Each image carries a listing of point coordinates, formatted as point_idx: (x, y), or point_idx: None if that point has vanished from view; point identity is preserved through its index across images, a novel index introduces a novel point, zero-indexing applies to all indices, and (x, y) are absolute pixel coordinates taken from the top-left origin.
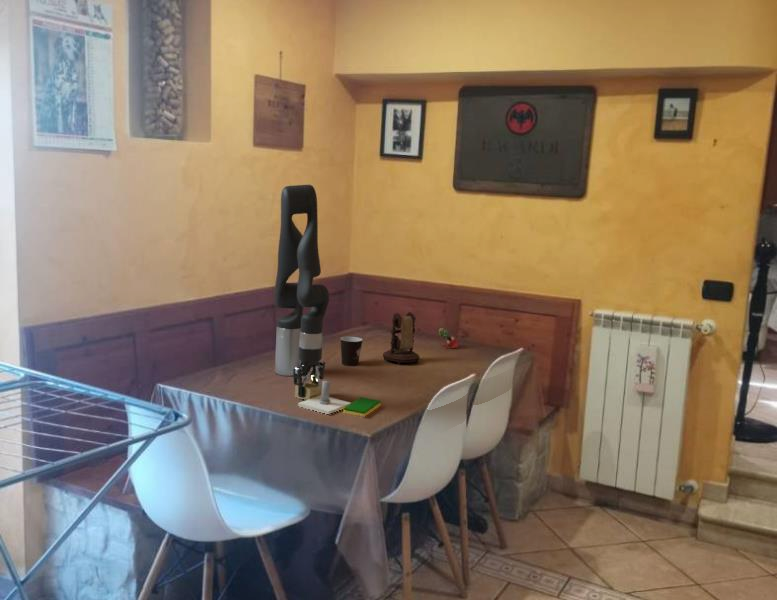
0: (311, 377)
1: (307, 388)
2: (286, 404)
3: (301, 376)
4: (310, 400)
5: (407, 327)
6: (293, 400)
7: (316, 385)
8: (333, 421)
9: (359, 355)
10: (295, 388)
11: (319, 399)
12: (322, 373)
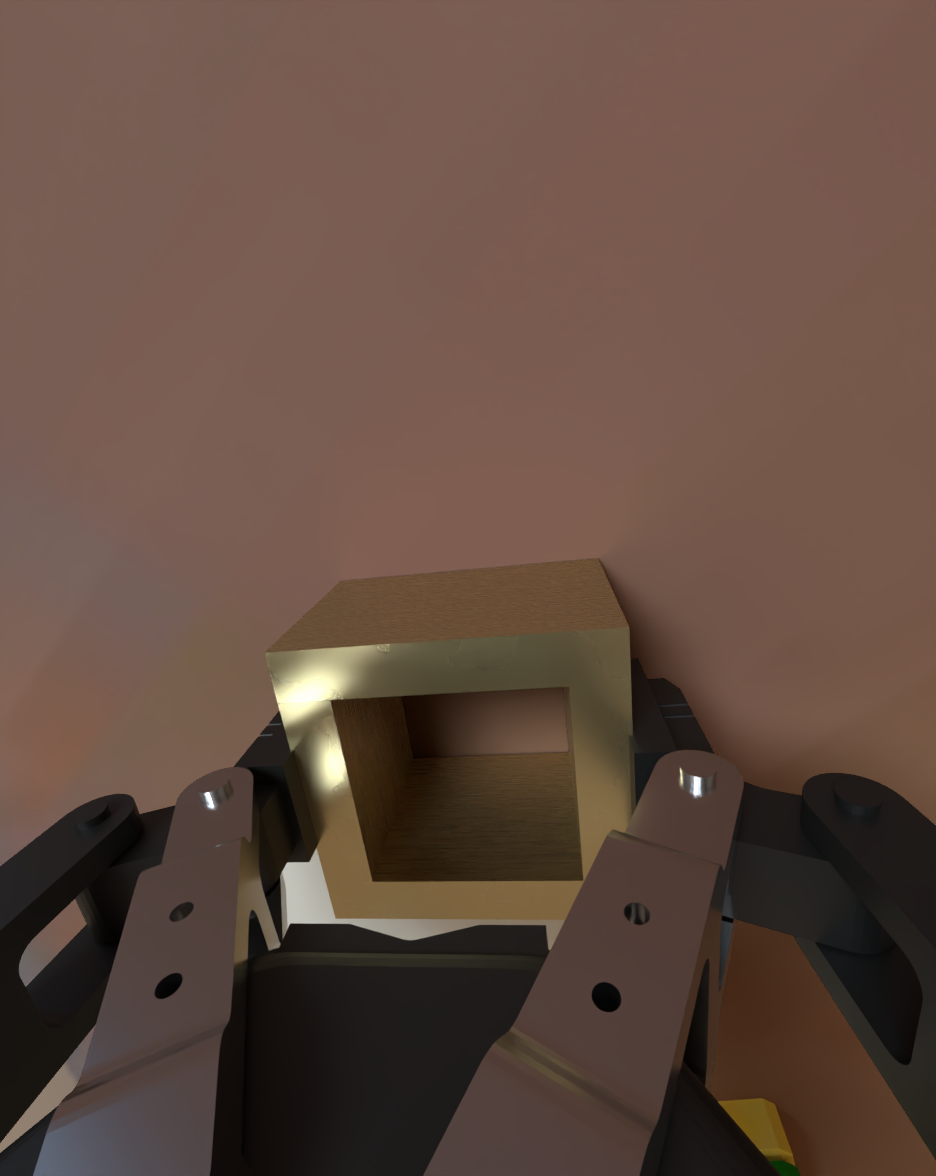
0: (632, 819)
1: (330, 874)
2: (104, 705)
3: (12, 1116)
4: (313, 880)
5: None
6: (250, 659)
7: (583, 857)
8: None
9: None
10: (292, 636)
11: (419, 921)
12: (907, 1049)
